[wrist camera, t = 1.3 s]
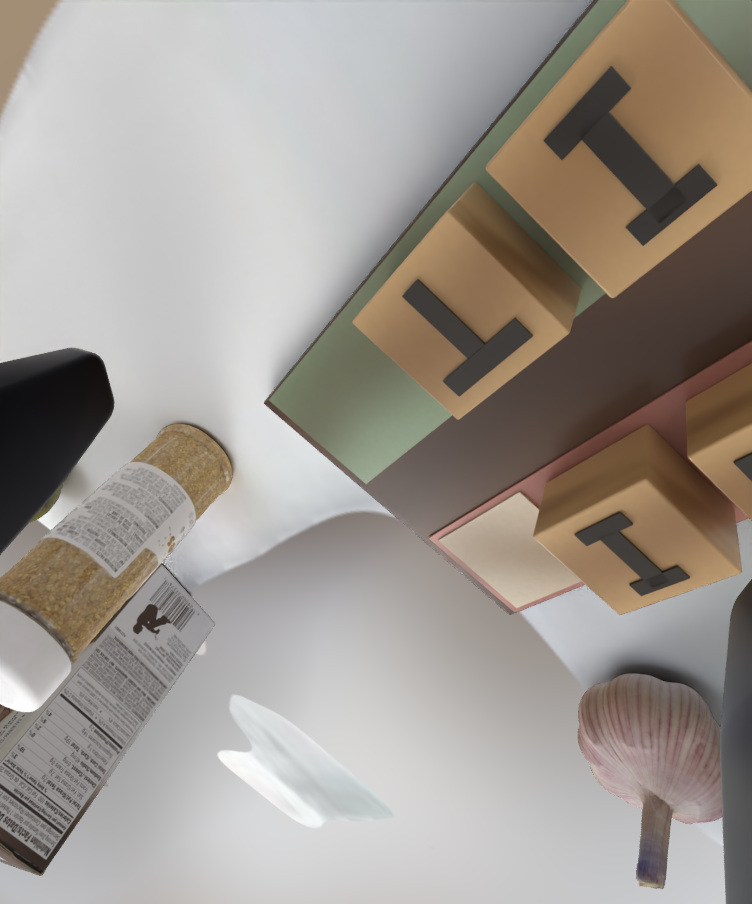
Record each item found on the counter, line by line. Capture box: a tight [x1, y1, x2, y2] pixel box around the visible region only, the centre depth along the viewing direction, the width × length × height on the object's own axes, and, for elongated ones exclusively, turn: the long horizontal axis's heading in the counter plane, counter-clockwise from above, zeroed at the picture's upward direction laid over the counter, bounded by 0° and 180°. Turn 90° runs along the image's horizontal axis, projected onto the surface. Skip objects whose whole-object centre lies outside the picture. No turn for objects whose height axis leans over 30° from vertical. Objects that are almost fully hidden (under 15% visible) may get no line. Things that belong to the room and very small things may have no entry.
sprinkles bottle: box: [0, 424, 233, 712], centre depth 26 cm, size 5×5×13 cm
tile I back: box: [533, 424, 742, 615], centre depth 20 cm, size 4×4×3 cm
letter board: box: [264, 0, 752, 615], centre depth 20 cm, size 15×22×1 cm
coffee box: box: [0, 564, 215, 876], centre depth 37 cm, size 9×6×16 cm
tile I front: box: [486, 0, 752, 298], centre depth 14 cm, size 4×4×3 cm
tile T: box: [352, 182, 582, 420], centre depth 18 cm, size 4×4×3 cm
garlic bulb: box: [578, 673, 722, 889], centre depth 27 cm, size 8×7×8 cm
